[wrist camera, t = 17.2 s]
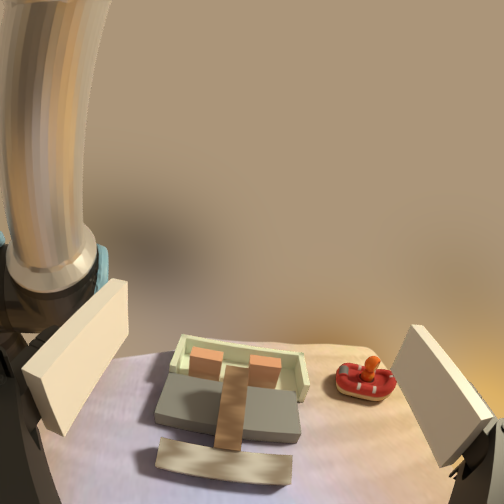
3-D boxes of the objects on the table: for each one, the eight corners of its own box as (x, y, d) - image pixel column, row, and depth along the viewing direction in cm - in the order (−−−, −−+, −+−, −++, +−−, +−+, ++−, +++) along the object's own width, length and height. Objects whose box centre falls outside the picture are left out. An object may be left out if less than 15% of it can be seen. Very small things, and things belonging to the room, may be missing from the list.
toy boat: (389, 407, 44) (407, 376, 41) (330, 395, 46) (345, 362, 44) (387, 382, 50) (402, 352, 48) (334, 370, 53) (346, 339, 51)
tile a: (189, 355, 43) (192, 346, 45) (188, 378, 44) (191, 369, 47) (222, 361, 43) (223, 351, 45) (218, 384, 44) (220, 374, 47)
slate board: (155, 423, 35) (154, 412, 34) (169, 382, 43) (169, 371, 42) (296, 443, 35) (301, 433, 34) (291, 401, 44) (295, 391, 43)
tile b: (249, 363, 44) (250, 354, 46) (244, 386, 45) (245, 376, 47) (281, 367, 44) (280, 358, 46) (274, 389, 45) (274, 380, 48)
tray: (169, 382, 43) (169, 364, 42) (180, 351, 52) (181, 333, 50) (303, 402, 44) (310, 385, 43) (297, 368, 52) (303, 352, 51)
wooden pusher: (154, 465, 26) (180, 356, 38) (158, 468, 28) (180, 366, 40) (291, 483, 26) (295, 373, 39) (285, 485, 28) (289, 383, 41)
